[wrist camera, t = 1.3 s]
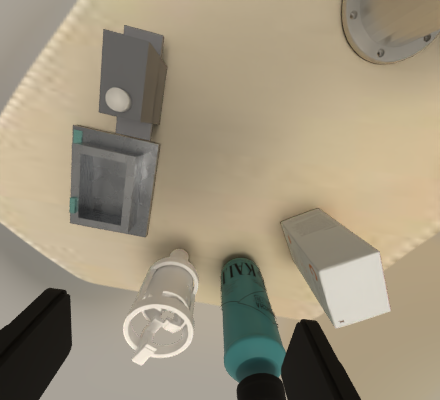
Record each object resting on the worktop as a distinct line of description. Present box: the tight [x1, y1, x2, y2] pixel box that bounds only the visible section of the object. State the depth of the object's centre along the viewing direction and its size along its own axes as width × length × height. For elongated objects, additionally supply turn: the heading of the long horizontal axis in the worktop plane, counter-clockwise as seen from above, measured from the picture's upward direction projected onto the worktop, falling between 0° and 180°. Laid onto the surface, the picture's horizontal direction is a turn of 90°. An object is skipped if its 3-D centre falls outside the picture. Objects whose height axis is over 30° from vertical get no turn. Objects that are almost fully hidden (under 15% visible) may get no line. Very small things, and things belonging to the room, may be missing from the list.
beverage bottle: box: [220, 258, 286, 400], centre depth 27 cm, size 6×7×20 cm
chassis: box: [70, 125, 160, 237], centre depth 29 cm, size 14×11×4 cm
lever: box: [99, 25, 167, 141], centre depth 24 cm, size 11×4×9 cm, turn 167°
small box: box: [281, 208, 391, 328], centre depth 28 cm, size 8×6×13 cm
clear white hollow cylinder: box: [123, 249, 199, 365], centre depth 28 cm, size 7×7×15 cm
